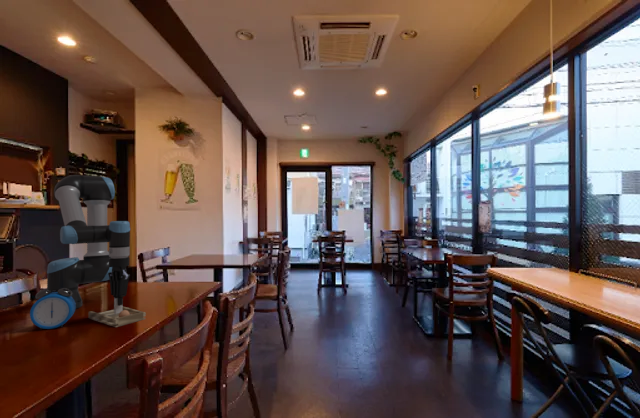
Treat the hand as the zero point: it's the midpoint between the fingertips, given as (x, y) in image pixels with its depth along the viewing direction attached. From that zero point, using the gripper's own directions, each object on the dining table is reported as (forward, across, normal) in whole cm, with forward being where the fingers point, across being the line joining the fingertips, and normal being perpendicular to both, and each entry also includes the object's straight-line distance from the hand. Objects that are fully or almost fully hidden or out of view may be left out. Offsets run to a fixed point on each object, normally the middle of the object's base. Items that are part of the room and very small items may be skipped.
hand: (118, 312), depth 136 cm
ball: (0, +5, 0) cm, 5 cm away
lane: (+3, -1, 0) cm, 3 cm away
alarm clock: (+3, -11, -18) cm, 22 cm away
